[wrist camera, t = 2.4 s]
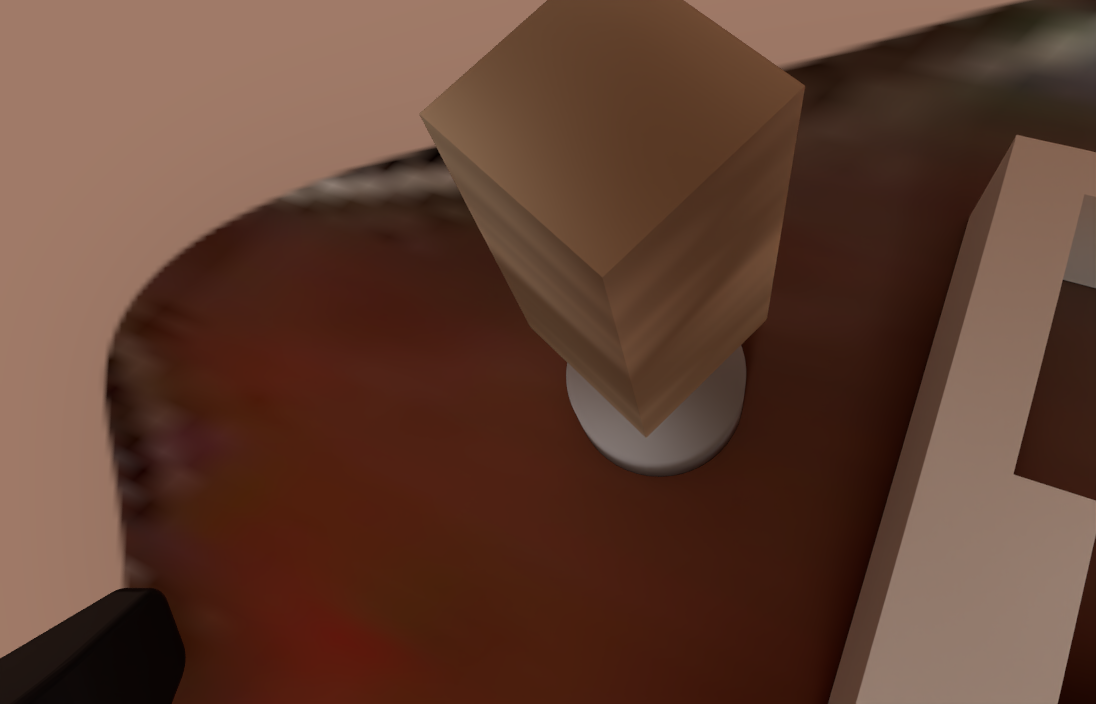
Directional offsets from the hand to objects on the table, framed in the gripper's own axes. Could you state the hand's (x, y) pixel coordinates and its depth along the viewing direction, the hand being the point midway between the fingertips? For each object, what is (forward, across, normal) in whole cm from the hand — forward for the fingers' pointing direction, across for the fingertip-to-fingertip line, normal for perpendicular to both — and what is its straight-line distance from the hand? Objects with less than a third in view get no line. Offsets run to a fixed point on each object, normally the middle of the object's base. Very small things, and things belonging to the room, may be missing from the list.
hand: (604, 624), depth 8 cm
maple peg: (+13, 0, +4) cm, 13 cm away
